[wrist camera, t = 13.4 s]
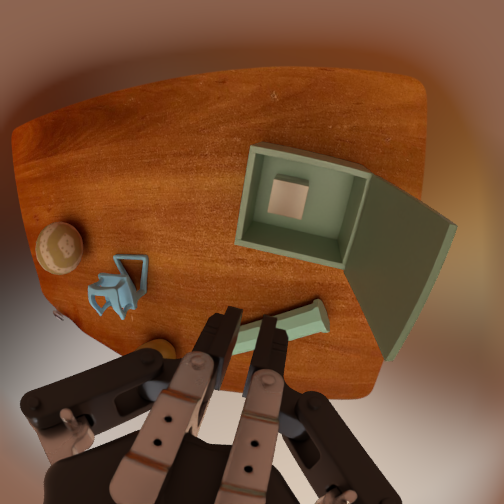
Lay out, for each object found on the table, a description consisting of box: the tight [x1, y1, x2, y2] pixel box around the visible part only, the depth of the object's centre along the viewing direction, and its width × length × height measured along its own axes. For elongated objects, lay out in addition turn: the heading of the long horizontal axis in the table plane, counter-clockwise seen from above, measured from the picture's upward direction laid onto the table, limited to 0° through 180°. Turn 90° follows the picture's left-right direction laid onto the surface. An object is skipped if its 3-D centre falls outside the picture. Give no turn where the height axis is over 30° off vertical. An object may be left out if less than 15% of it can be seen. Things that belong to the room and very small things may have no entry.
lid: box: [344, 175, 457, 361], centre depth 26 cm, size 16×13×1 cm
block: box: [267, 173, 309, 220], centre depth 40 cm, size 5×5×5 cm
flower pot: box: [135, 339, 176, 359], centre depth 58 cm, size 10×10×7 cm
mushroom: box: [36, 222, 83, 275], centre depth 51 cm, size 10×11×15 cm
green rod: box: [232, 299, 330, 355], centre depth 51 cm, size 6×6×25 cm
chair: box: [88, 254, 148, 320], centre depth 49 cm, size 8×8×12 cm
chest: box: [234, 142, 374, 270], centre depth 38 cm, size 15×13×9 cm
